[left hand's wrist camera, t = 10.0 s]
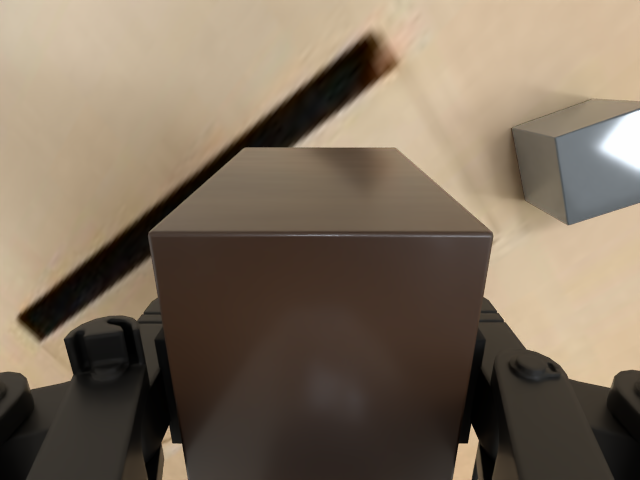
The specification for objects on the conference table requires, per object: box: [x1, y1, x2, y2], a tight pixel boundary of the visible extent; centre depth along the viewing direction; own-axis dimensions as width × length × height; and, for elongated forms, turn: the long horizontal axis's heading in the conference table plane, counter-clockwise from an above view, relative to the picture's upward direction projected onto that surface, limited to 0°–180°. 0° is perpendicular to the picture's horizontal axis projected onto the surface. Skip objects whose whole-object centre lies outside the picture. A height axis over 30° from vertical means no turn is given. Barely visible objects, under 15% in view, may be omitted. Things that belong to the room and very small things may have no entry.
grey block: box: [512, 99, 640, 225], centre depth 23 cm, size 5×5×5 cm
